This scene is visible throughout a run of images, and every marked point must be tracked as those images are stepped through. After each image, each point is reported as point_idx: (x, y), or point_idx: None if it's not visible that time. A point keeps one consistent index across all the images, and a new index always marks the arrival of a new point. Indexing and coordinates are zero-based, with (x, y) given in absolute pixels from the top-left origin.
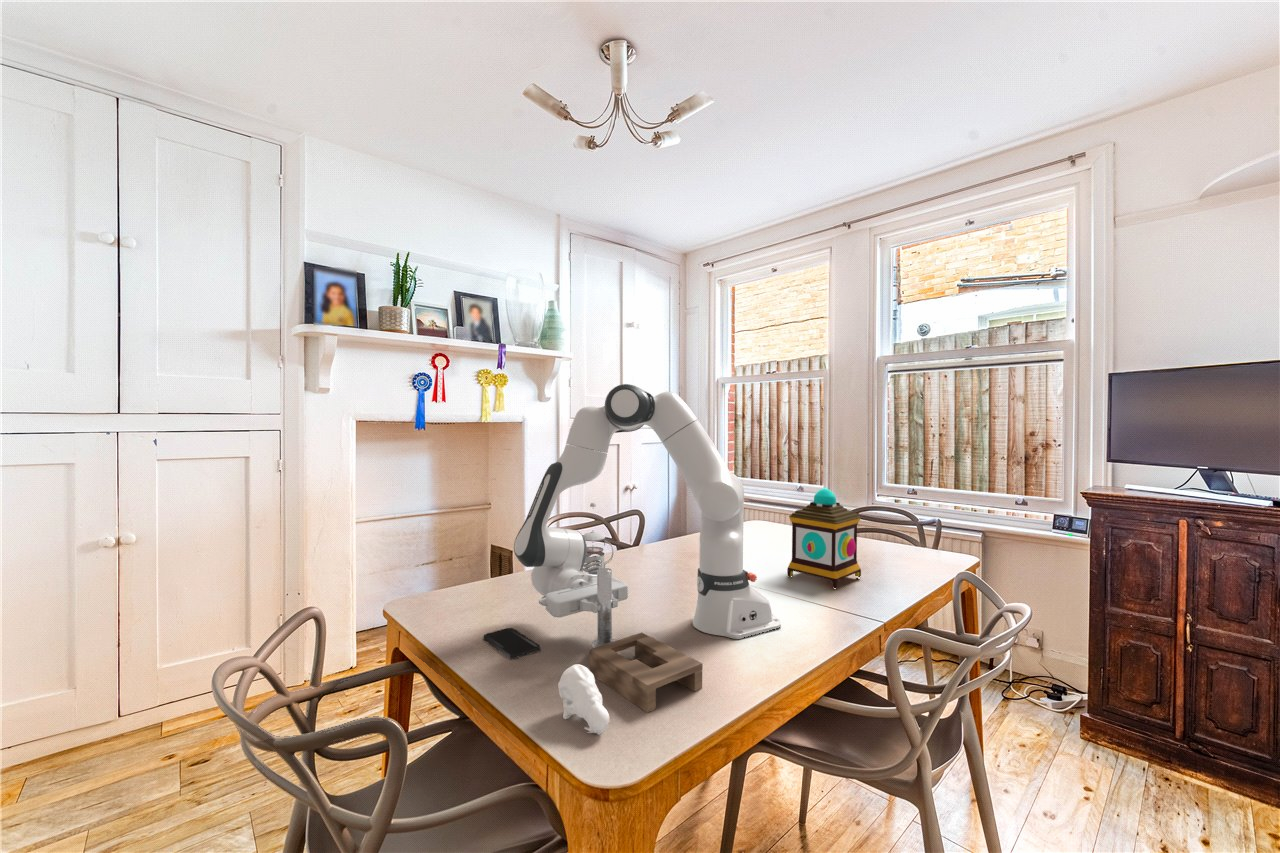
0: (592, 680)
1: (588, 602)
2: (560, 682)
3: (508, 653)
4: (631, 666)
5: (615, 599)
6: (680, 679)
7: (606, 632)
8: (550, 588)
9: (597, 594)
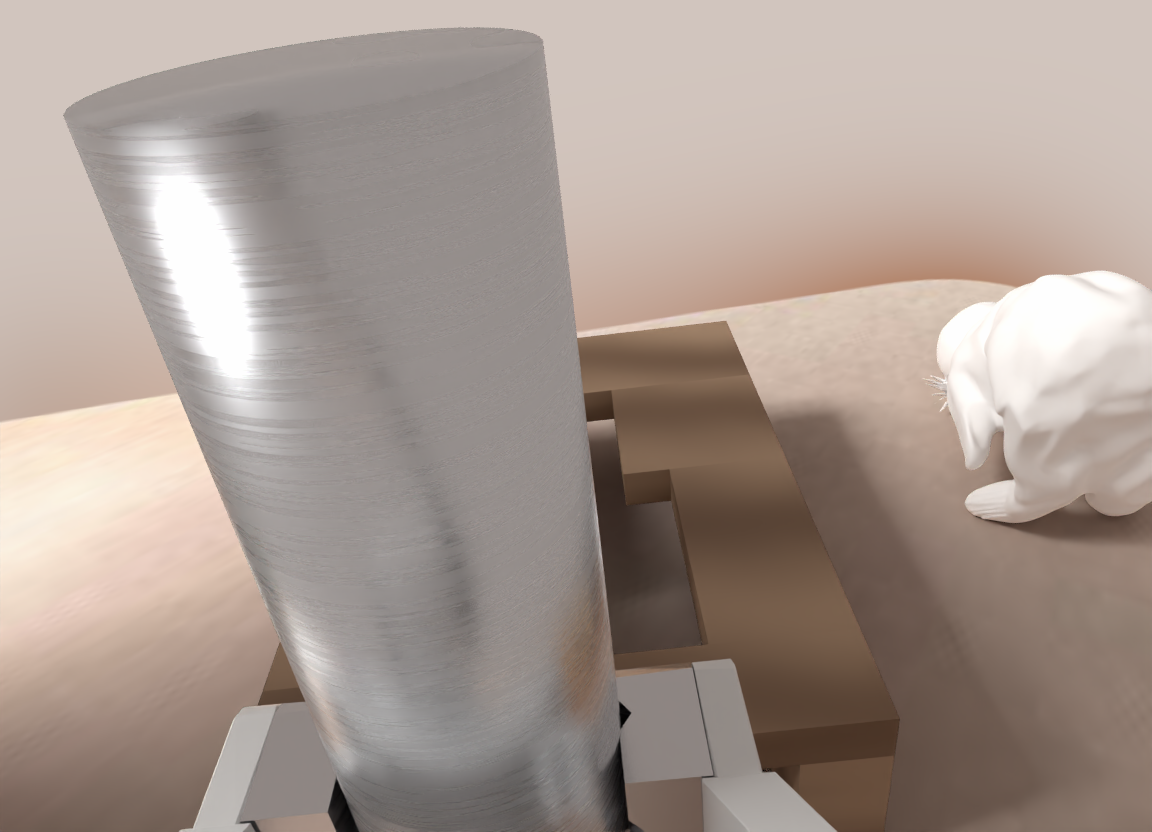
0: (1015, 290)
1: (800, 827)
2: None
3: None
4: (702, 429)
5: (260, 716)
6: None
7: None
8: None
9: (598, 648)
